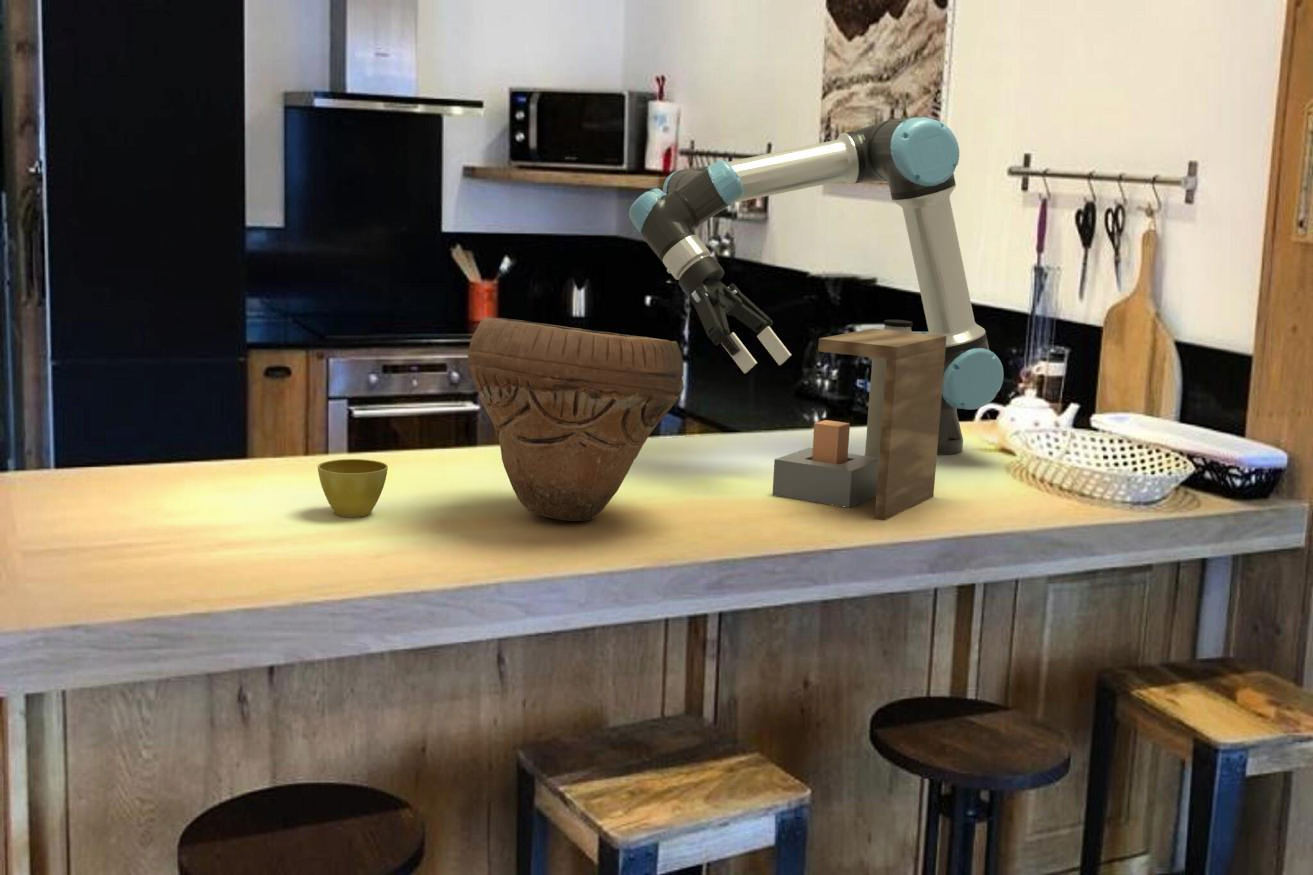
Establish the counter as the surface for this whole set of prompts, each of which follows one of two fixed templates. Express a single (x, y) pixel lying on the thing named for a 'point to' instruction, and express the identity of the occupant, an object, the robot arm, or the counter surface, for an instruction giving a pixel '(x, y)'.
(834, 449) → the peg
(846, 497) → the socket
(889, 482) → the wooden l-shaped bracket
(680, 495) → the counter surface
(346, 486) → the flower pot
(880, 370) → the thermos bottle
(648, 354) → the pot
